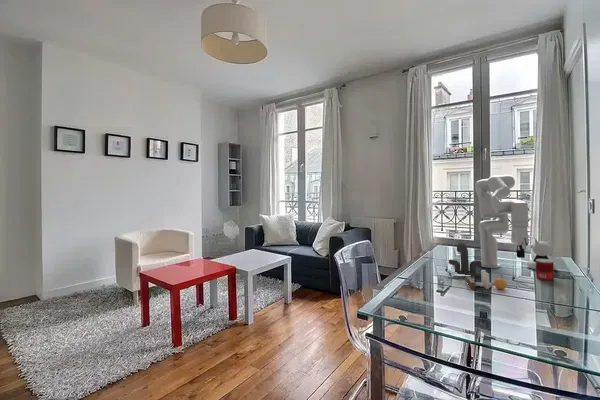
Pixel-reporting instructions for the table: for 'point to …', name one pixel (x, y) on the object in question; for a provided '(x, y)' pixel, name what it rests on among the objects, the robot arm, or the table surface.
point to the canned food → (545, 269)
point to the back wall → (470, 282)
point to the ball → (500, 283)
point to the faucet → (465, 262)
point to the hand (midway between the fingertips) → (520, 257)
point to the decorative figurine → (539, 253)
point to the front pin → (482, 284)
